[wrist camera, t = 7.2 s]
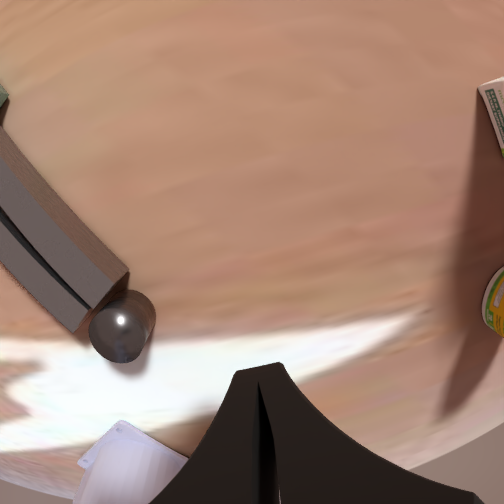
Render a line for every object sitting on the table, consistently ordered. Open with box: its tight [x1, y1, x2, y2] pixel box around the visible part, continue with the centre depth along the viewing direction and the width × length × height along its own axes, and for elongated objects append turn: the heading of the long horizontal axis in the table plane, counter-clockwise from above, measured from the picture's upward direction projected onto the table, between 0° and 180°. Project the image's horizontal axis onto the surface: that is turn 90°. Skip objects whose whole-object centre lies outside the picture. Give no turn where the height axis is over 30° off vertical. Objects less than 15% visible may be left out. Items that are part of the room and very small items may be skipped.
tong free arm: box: [0, 84, 129, 309], centre depth 14 cm, size 19×4×2 cm, turn 45°
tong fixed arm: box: [0, 206, 156, 363], centre depth 15 cm, size 6×22×3 cm, turn 48°
